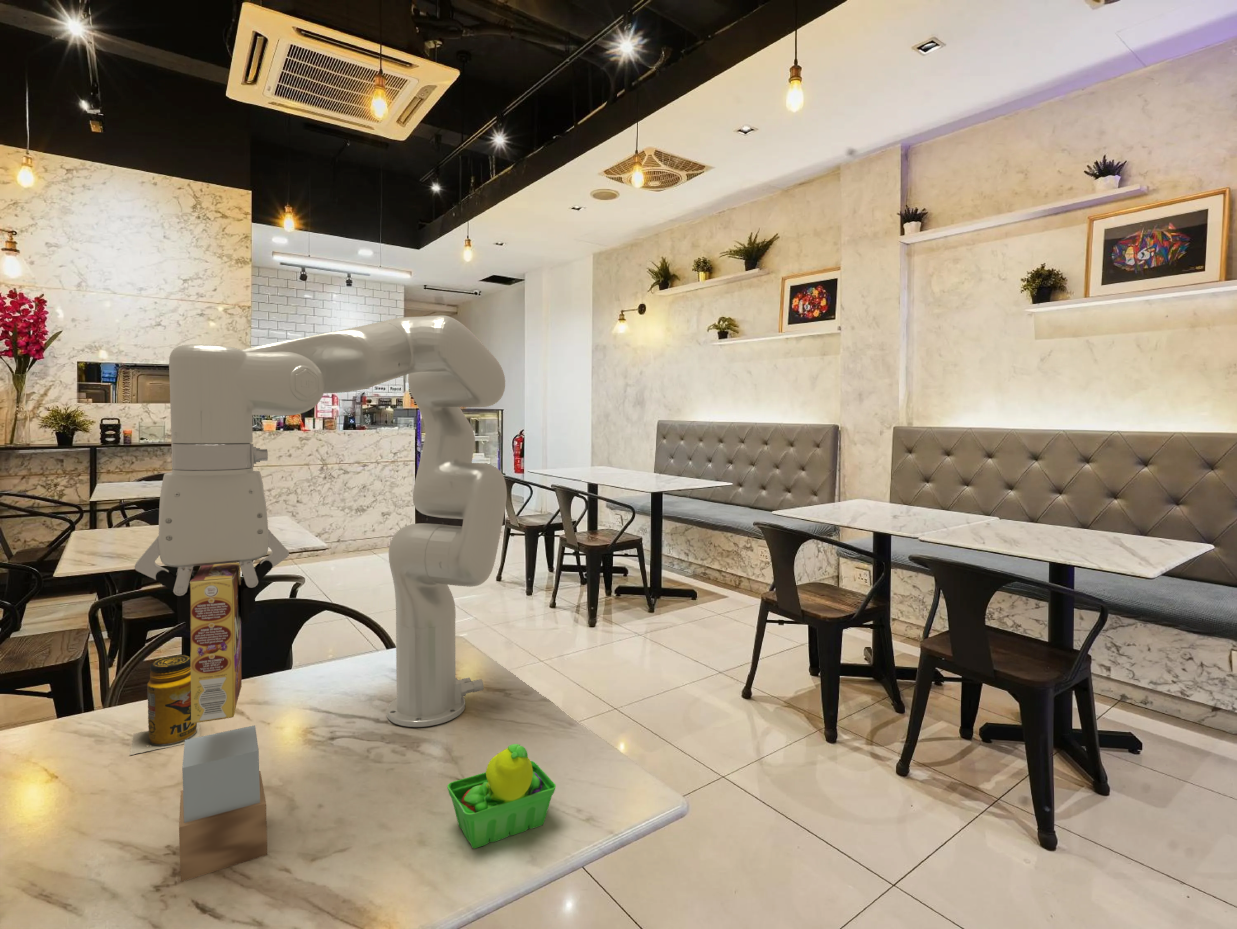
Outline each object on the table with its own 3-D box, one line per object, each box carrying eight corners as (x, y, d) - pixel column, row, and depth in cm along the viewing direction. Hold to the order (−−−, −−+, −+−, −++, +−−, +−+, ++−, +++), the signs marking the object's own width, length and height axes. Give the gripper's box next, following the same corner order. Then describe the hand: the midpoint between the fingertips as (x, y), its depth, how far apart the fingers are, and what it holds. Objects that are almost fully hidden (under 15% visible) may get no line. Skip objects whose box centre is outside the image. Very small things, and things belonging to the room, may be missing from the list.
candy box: (238, 717, 69) (233, 577, 68) (190, 726, 67) (184, 581, 66) (245, 687, 76) (241, 560, 76) (202, 693, 75) (197, 564, 74)
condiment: (199, 741, 97) (197, 663, 96) (129, 756, 92) (126, 674, 91) (199, 722, 103) (197, 649, 102) (133, 735, 98) (130, 659, 97)
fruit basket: (531, 795, 84) (531, 711, 83) (563, 832, 76) (563, 740, 75) (445, 824, 77) (444, 733, 77) (470, 867, 70) (470, 767, 69)
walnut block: (261, 818, 78) (260, 770, 78) (267, 855, 72) (266, 803, 71) (182, 841, 74) (180, 790, 73) (180, 882, 67) (178, 827, 67)
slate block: (256, 773, 77) (255, 725, 77) (259, 802, 71) (258, 750, 71) (186, 790, 73) (184, 740, 73) (184, 823, 68) (182, 768, 67)
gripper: (294, 457, 78) (297, 605, 79) (118, 459, 68) (124, 627, 69) (304, 460, 72) (306, 621, 73) (112, 463, 62) (118, 648, 63)
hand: (217, 622), depth 71 cm, fingers closed on candy box, 4 cm apart
